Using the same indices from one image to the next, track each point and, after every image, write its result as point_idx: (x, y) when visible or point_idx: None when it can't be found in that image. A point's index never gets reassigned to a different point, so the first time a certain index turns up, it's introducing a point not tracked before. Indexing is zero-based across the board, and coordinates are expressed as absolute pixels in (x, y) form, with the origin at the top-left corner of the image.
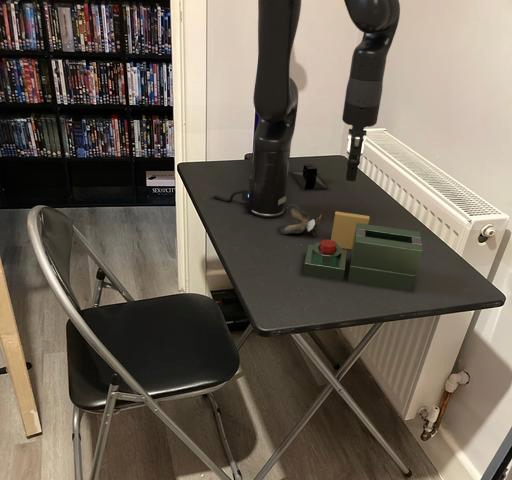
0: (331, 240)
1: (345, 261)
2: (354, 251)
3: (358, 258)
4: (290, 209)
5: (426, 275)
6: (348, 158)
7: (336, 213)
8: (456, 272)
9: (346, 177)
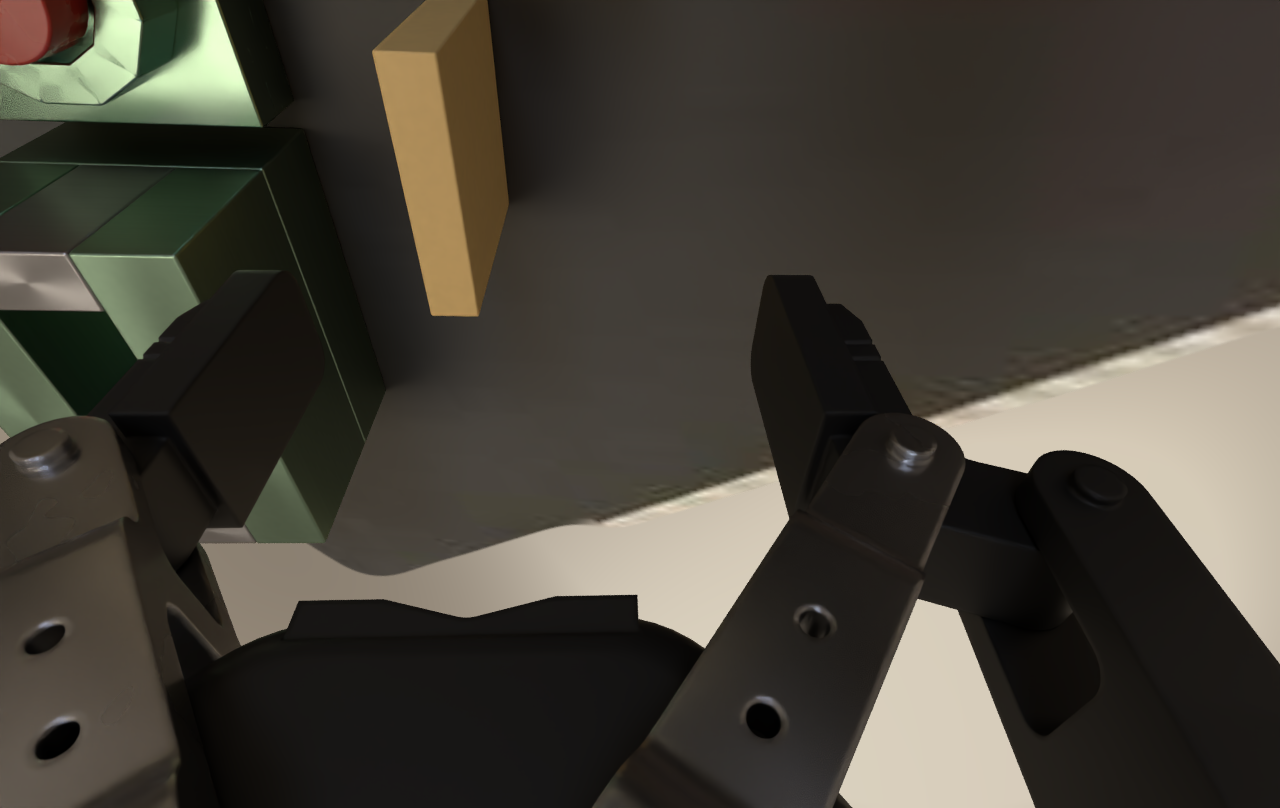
0: (37, 18)
1: (97, 120)
2: None
3: None
4: None
5: (386, 437)
6: (62, 486)
7: (391, 62)
8: (464, 511)
9: (228, 286)
